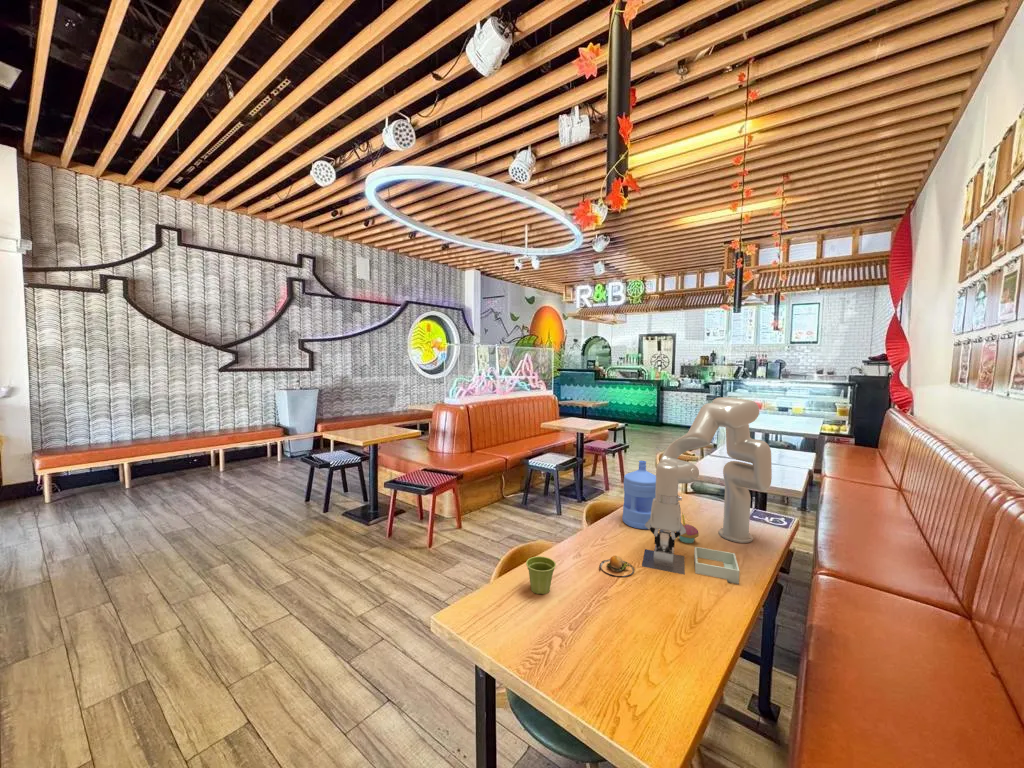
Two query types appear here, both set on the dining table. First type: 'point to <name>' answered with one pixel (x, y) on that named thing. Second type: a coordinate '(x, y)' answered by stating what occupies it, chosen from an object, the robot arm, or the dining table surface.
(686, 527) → the cupcake
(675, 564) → the stud block
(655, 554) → the grey piece
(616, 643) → the dining table surface
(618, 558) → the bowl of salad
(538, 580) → the plant pot
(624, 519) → the water jug
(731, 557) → the bin
